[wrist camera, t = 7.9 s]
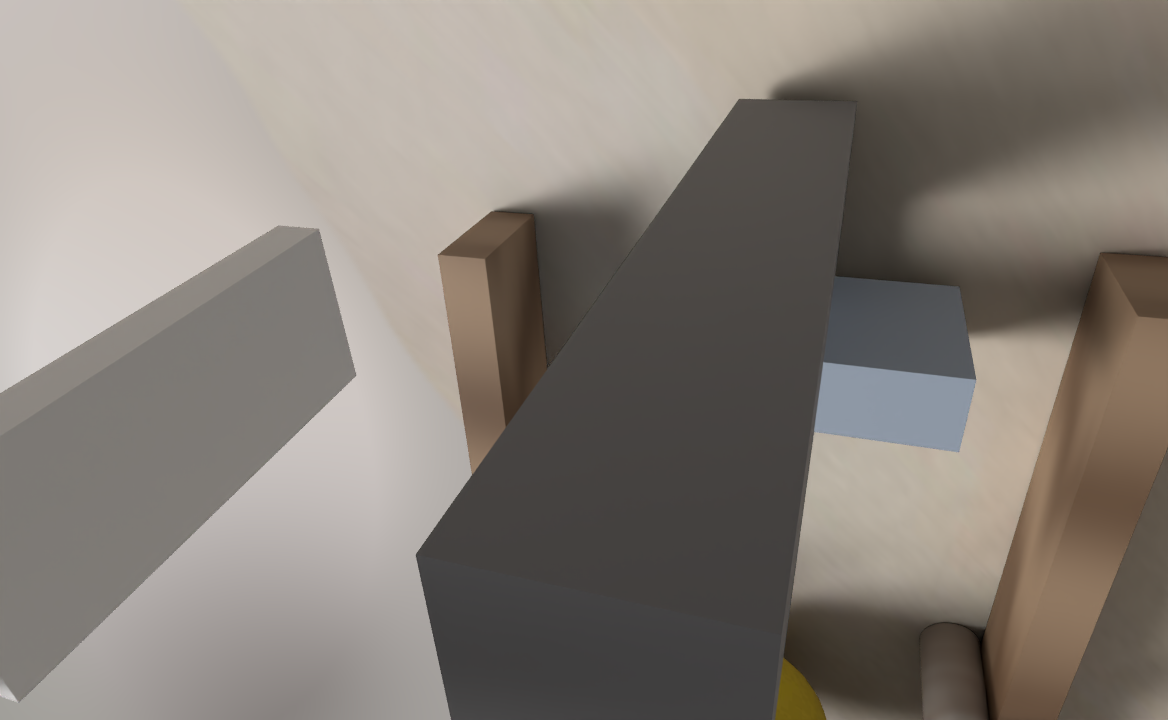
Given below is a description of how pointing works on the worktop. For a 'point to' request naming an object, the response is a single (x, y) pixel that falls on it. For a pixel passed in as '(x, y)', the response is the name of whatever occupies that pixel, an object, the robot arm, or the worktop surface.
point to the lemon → (797, 697)
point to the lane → (1052, 505)
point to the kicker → (688, 446)
